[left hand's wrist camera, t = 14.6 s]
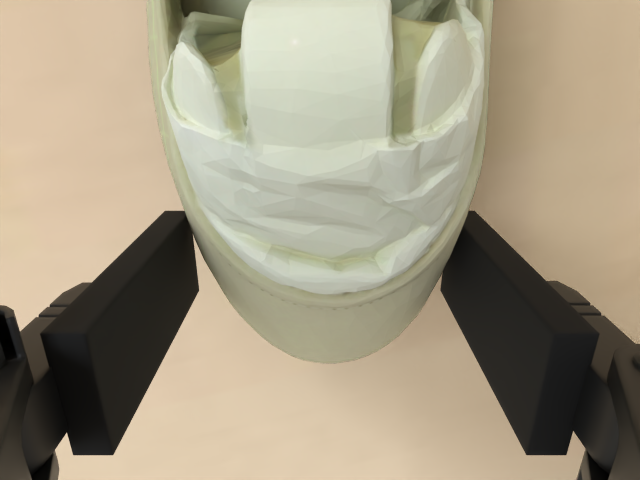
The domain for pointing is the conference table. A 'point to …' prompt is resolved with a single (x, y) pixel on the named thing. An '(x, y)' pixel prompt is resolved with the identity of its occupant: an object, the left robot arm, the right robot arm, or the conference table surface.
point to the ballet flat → (323, 154)
